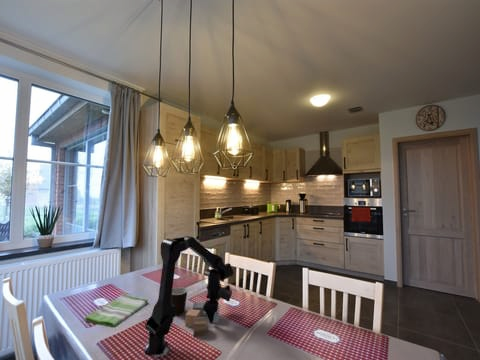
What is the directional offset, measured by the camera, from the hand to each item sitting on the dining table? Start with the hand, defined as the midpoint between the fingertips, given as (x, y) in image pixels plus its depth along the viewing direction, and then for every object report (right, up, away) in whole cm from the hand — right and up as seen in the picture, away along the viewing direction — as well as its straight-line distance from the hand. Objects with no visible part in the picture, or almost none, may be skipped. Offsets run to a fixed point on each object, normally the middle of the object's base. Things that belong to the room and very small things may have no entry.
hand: (213, 317), depth 106 cm
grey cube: (0, -1, 0) cm, 1 cm away
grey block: (-7, -1, +3) cm, 8 cm away
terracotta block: (-9, -1, -4) cm, 9 cm away
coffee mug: (-18, -1, +8) cm, 19 cm away
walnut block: (-4, -1, -10) cm, 11 cm away
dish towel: (-47, -1, +6) cm, 47 cm away
